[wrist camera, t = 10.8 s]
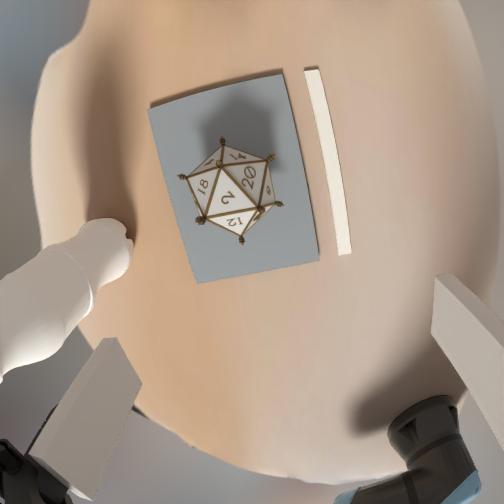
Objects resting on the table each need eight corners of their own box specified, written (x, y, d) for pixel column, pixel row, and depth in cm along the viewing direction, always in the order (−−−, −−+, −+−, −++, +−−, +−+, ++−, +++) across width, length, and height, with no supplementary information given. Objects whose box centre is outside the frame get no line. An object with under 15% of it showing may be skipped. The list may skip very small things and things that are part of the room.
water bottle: (82, 250, 34) (-55, 376, 11) (99, 201, 31) (-76, 311, 8) (128, 278, 35) (12, 437, 12) (148, 231, 33) (-1, 390, 9)
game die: (228, 163, 32) (203, 104, 23) (298, 191, 30) (297, 132, 21) (186, 233, 31) (142, 191, 21) (258, 268, 29) (238, 236, 19)
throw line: (350, 251, 33) (351, 252, 32) (337, 253, 33) (338, 255, 32) (317, 70, 26) (318, 69, 25) (303, 72, 26) (304, 71, 25)
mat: (318, 257, 33) (319, 260, 32) (198, 280, 35) (196, 283, 34) (281, 75, 26) (282, 73, 25) (149, 110, 28) (147, 109, 27)
